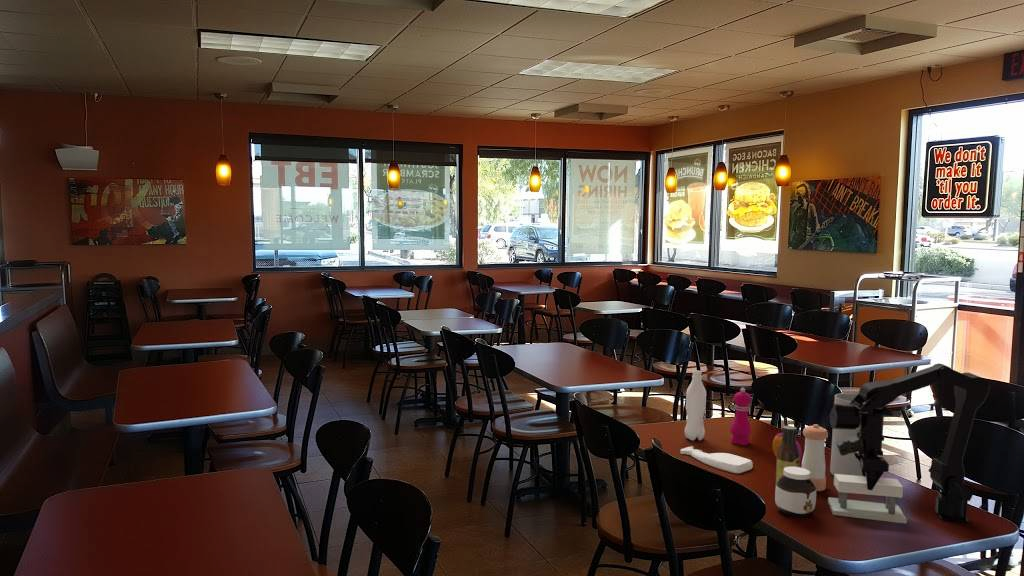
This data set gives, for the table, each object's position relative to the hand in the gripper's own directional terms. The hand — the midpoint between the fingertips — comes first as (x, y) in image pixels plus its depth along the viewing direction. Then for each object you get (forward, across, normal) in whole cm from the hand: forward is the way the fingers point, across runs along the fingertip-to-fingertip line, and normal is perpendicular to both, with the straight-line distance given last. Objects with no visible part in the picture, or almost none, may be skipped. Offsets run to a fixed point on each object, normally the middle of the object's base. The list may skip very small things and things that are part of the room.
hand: (867, 485), depth 200 cm
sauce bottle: (+8, -7, -20) cm, 23 cm away
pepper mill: (+8, -55, -32) cm, 64 cm away
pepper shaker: (+8, -16, -12) cm, 21 cm away
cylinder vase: (+8, -30, +1) cm, 31 cm away
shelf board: (+1, 0, 0) cm, 1 cm away
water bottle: (+8, -54, -48) cm, 73 cm away
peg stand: (+8, 0, 0) cm, 8 cm away
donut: (+8, -36, -18) cm, 41 cm away
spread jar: (+8, +4, -19) cm, 21 cm away
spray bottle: (+8, -31, -41) cm, 52 cm away
